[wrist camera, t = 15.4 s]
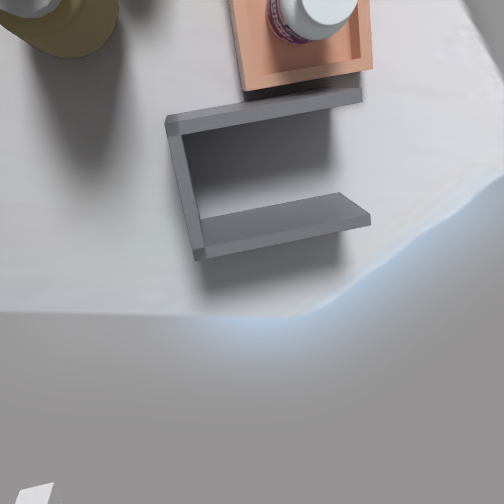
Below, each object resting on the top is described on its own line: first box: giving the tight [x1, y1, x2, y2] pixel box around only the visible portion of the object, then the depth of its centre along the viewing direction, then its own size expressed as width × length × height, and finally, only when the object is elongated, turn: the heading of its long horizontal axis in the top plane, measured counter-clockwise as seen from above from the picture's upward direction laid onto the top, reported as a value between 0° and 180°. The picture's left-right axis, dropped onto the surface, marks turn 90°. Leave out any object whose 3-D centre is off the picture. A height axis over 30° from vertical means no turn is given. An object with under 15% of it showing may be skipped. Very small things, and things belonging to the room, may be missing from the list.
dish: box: [228, 0, 373, 91], centre depth 38 cm, size 11×11×3 cm
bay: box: [164, 87, 371, 261], centre depth 40 cm, size 15×11×8 cm
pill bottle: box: [266, 0, 358, 45], centre depth 34 cm, size 5×5×10 cm
